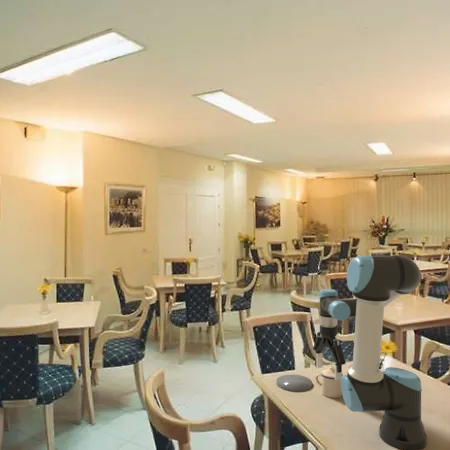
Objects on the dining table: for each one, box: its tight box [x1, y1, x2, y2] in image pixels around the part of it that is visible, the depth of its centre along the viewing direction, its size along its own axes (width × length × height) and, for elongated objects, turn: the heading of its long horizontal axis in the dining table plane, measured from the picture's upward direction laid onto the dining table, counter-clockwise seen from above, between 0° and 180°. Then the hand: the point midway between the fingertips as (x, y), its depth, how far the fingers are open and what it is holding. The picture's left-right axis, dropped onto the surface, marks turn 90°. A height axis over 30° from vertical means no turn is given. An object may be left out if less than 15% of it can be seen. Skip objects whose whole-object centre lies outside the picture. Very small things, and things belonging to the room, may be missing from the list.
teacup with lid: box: [315, 366, 344, 399], centre depth 178 cm, size 12×9×12 cm
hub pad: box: [276, 374, 313, 392], centre depth 188 cm, size 16×16×1 cm
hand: (328, 373), depth 179 cm, fingers open, 13 cm apart
